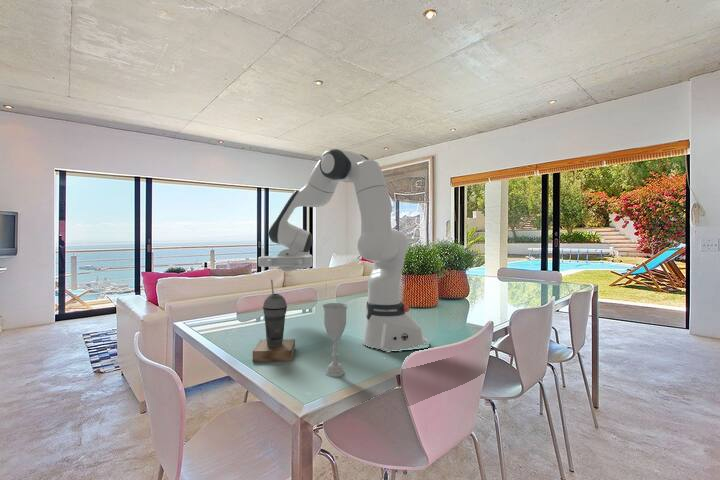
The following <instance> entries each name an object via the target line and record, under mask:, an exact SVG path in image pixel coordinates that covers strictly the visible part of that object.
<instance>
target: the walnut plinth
mask: <svg viewBox="0 0 720 480" xmlns="http://www.w3.org/2000/svg"><path fill="white" fill-rule="evenodd" d="M295 349H296V339H295V338H286V339H284V338H283V342H282V345H281V346H279V347H268V346H267V340H266V339H259V341H258V343H257V344H256V345H255V347H254V348H253V349H252V362H291V361H292V360H293V356H294V352H295Z"/></svg>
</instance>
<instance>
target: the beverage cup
mask: <svg viewBox="0 0 720 480" xmlns="http://www.w3.org/2000/svg"><path fill="white" fill-rule="evenodd" d="M270 284H271V294H270V295H268V296H267V297H266V298H265V300H264V302H263V306H262V309H263V315H264V322H265V324H264V326H265V338H266V339H265V340H267V346H268V347H279V346H281V345H282V342H283V339H284V332H285V331H284V330H285V323H286V321H285V320H286V314H287V308H288V307H287V306H288V303H287V301H286V299H285V297H284V296H283V295H281V294H278V293H275V292H274V281H273V279H270Z"/></svg>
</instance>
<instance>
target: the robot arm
mask: <svg viewBox="0 0 720 480" xmlns="http://www.w3.org/2000/svg"><path fill="white" fill-rule="evenodd" d="M340 182H344V183H352V184H353V187H354V190H355V195H356V199H357V203H358V207H359V213H360V222H361V223H360V225H361V226H360V236H359V238H358V240H357V250H358V253H359V255H360V256H361V257H362V259H365V260H366V261H369V262H371V263H372V262H373V266H372V267H373V268H372V270H371V273H370V275H369V276H368V280H367V301H366V306H365V312H366V313H365V317H366V325H365V332H364V336H363V340H362V344H363V345H364V346H365V345H366V346H365V347H367V346H368V347H367V348H369V347H371V348H370V349H373V348H377V349H376V350H378V349H381V350H384V351H392V350H400V349H408V348H414V347H419V346H420V345H429V344H430V341H429V340H428V339H427V338H426V337H424V335H423V331H422V327H421V325H420V324H419V323H418V322H417V321H416V320H415V319H414V318H412V317H411V315H408V314H407V313H408V312H410V306H409V305H408V304H406V303H403V302H401V285H402V283H401V282H402V275H403V269H404V265H405V260H406V255H407V252H408V250H409V244H410V243H409V239H408V238H407V236H406V235H405V234H404V233H402V232H401V231H399V230H397V229H392V212H393V205H392V200H391V198H390V197H391V196H390V192H389V188H388V185H387V181H386V179H385V175H384V172H383V171H382V168H381V166H380V163H378V162H377V161H376V160H374V159H370V158H369V157H367V156H365V155H363V154H358V153H357V152H352V151H350V150H343V149H342V150H341V149H337V148H331V149H327V150H326V151H324V152H323V154H322V155H321V157H320V159H319V160H318V161H317V163H316V164H315V166H314V168H313V169H312V172H311V173H310V175H309V177H308V179H307V182H306V184H305V185H304V186H303V187H302V188H297V189H295V190H294V191H293V193H292V194H291V196H290V197H289V198H288V200H287V202H286V203H285V205H284V207H283V208H282V209H281V211H280V212H279V215H278V216H277V218H276V219H275V220H274V222H272V224H271V225H270V227H269V229H268V232H267V235H268V238H269V239H270V241H271V242H272V243H274V244H277V245H281V246H283V247H285V248H286V249H283V250H281V251H280V252H279V253H278V254H277V255H263V256H259V257H258V258H257V266H258V267H262V268H263V267H264V268H267V267H269V268H270V267H271V268H273V267H275V268H276V267H278V268H279V270H281V271H283V272H288V273H289V272H292V271H297V270H301V269H302V270H304V269H310V268H311V267H313V266H314V265H313V262H314V260H313V258H314V257H313V255H312V254H310V253H311V252H310V250H311V248H312V245H313V240H314V239H313V236H312V233H311V232H310V231H307V230H306V229H303V228H301V227H299V226H296V225H294V224H292V223H290V222H289V218H290V217H291V215H292V214H293V212H294V210H295V209H296V208H298V207H306V208H307V207H310V208H320V207H323V206H325V205H327V204H329V203H330V201H331V200H332V197H333V196H334V194H335V191H336V189H337V186H338V184H339V183H340ZM424 343H429V344H424ZM418 345H419V346H418ZM413 346H414V347H413ZM381 350H380V351H381Z"/></svg>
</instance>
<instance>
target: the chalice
mask: <svg viewBox="0 0 720 480" xmlns="http://www.w3.org/2000/svg"><path fill="white" fill-rule="evenodd" d="M322 307H323V311H324V317H323V319H324V320H323V321H324V322H323V323H324V328H325V331H326V333H327V335H328V338H329V340H330V341H332V344H333V345H332V347H331V348H332V351H333V352H332V353H331V356H332V361H331V362H330V363H329V364H328V365H327V367H326V370H325V372H324V374H325V375H326V376H328V377H331V378H332V377H341V376H343V375H344V374H345V372H344V369H343V367H342V365H341V363H339V362H338V360H337V357H338V356H339V354H338V352H337V350H338V348H339V347H338V345H337V343H338V341H339V340H341V338H342V336H343V334H344V332H345V328H346V326H347V309H348V307H349V305H348V304H347V303H341V302H330V303H325V304H322Z"/></svg>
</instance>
